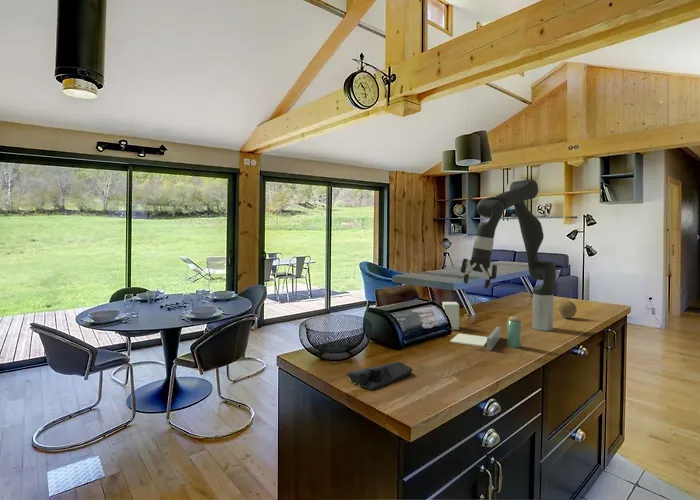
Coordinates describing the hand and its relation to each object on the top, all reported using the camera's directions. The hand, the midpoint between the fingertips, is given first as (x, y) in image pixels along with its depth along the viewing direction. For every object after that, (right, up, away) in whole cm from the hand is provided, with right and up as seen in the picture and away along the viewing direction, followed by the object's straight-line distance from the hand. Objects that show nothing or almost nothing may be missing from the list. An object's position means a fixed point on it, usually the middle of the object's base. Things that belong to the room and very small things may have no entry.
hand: (475, 285), depth 162 cm
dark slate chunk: (-43, -28, -33) cm, 61 cm away
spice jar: (+16, -25, 0) cm, 30 cm away
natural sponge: (+67, -23, +50) cm, 86 cm away
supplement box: (-2, -24, +32) cm, 40 cm away
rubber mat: (+1, -25, +9) cm, 27 cm away
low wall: (+9, -25, +4) cm, 27 cm away
